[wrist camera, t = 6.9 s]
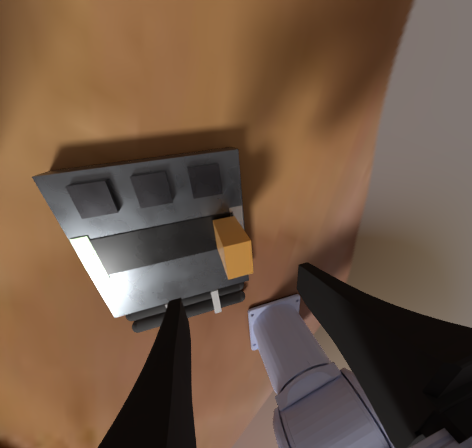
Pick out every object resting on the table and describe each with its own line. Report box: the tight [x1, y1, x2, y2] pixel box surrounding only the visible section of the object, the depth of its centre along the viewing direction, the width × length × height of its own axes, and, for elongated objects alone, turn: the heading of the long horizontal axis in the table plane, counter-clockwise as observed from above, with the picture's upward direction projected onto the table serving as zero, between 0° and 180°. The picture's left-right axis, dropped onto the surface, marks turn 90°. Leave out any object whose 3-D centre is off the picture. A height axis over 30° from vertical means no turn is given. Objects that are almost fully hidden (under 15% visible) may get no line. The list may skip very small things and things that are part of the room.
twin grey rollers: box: [126, 282, 245, 333], centre depth 23 cm, size 4×13×2 cm, turn 95°
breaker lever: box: [213, 216, 253, 280], centre depth 16 cm, size 3×2×4 cm, turn 5°
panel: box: [32, 147, 249, 318], centre depth 18 cm, size 14×14×3 cm
